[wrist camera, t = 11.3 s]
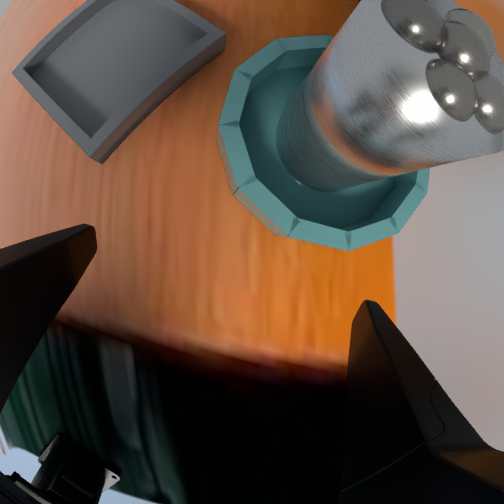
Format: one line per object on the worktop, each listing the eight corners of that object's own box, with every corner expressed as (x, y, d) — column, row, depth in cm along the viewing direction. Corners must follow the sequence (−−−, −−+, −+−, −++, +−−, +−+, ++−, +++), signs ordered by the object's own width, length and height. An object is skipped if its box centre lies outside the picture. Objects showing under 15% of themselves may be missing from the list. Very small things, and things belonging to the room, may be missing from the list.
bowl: (325, 284, 19) (348, 295, 16) (177, 144, 17) (170, 126, 14) (426, 156, 20) (455, 148, 16) (308, 35, 18) (323, 9, 14)
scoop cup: (296, 205, 18) (466, 166, 5) (260, 107, 17) (340, -58, 4) (382, 177, 18) (554, 137, 5) (348, 90, 18) (476, -19, 5)
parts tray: (102, 164, 17) (89, 157, 15) (24, 83, 15) (11, 72, 13) (224, 50, 17) (225, 33, 15) (129, -10, 15) (124, -26, 13)
